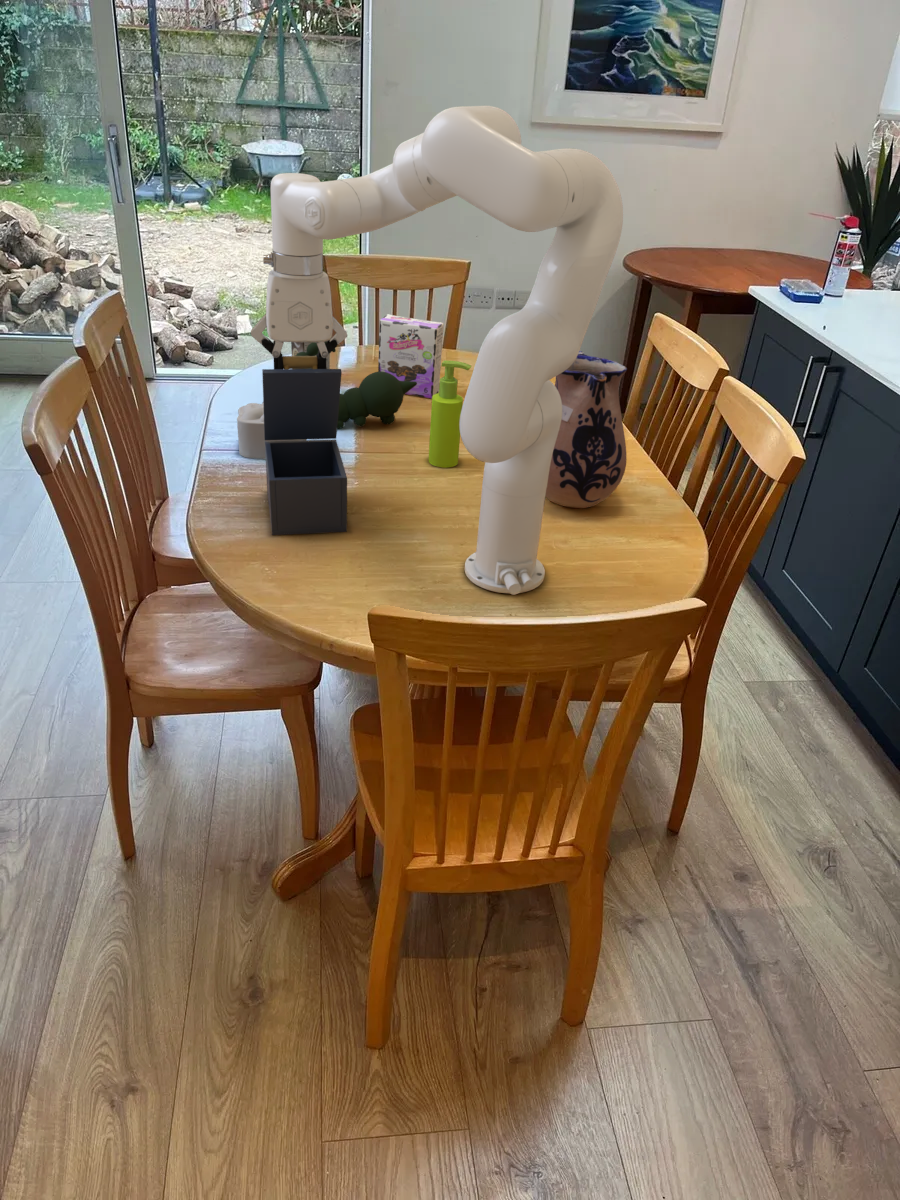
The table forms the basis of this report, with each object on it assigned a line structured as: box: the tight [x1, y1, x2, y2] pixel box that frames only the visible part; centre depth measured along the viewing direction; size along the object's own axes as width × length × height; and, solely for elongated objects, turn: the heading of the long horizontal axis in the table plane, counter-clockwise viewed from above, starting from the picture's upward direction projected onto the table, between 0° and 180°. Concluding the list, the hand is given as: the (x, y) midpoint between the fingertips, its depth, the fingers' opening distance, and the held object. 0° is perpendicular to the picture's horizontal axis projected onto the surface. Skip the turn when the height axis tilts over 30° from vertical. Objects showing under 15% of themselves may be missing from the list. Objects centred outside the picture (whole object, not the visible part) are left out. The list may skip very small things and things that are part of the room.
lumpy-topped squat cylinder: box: [236, 402, 308, 460], centre depth 171 cm, size 10×13×9 cm
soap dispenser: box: [427, 359, 472, 469], centre depth 168 cm, size 6×7×20 cm
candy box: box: [377, 313, 445, 400], centre depth 202 cm, size 14×6×16 cm, turn 73°
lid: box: [261, 355, 342, 440], centre depth 146 cm, size 17×12×5 cm
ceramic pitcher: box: [545, 349, 628, 509], centre depth 158 cm, size 18×21×25 cm
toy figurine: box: [296, 341, 417, 429], centre depth 182 cm, size 9×19×25 cm
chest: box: [265, 439, 348, 536], centre depth 148 cm, size 16×12×10 cm
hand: (300, 378), depth 143 cm, fingers closed on lid, 5 cm apart
